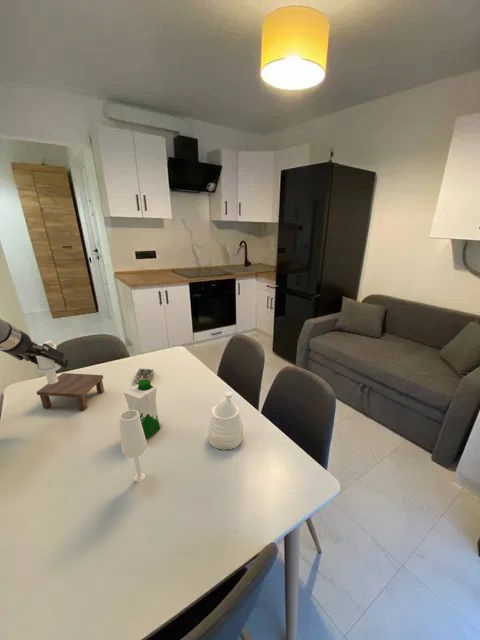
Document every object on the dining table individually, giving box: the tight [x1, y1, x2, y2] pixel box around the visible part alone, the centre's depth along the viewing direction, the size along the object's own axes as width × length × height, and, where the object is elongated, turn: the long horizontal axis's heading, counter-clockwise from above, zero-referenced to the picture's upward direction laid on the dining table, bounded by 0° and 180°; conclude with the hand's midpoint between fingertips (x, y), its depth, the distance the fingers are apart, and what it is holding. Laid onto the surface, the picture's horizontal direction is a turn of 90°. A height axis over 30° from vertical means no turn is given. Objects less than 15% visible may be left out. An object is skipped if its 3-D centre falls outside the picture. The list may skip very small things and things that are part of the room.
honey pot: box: [207, 391, 244, 451], centre depth 103 cm, size 13×13×18 cm
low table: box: [36, 372, 105, 411], centre depth 123 cm, size 18×16×8 cm
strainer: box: [35, 339, 62, 384], centre depth 102 cm, size 7×7×15 cm
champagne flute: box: [118, 409, 148, 482], centre depth 83 cm, size 7×7×24 cm
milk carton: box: [123, 380, 161, 440], centre depth 104 cm, size 9×9×20 cm
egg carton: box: [133, 367, 154, 385], centre depth 142 cm, size 11×8×4 cm
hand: (55, 364), depth 106 cm, fingers closed on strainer, 7 cm apart
